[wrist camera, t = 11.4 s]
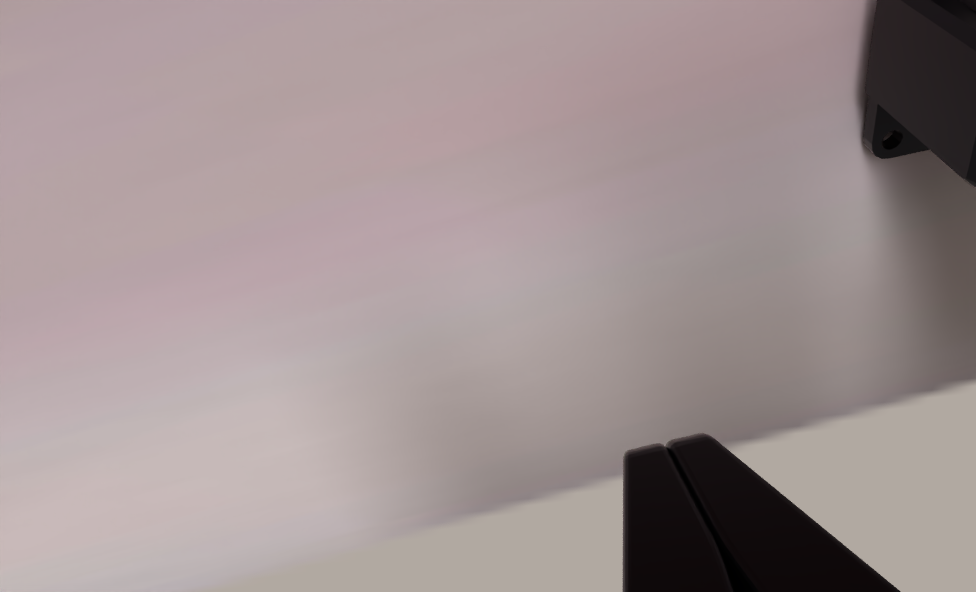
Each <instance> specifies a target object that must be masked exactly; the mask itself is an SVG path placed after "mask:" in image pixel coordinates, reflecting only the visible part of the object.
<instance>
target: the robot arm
mask: <svg viewBox="0 0 976 592" xmlns="http://www.w3.org/2000/svg"><path fill="white" fill-rule="evenodd" d="M865 91H866V93H867V95H869V99H868V106H867V113H866V120H865V128H864V135H863V139H864V144H865V145H866V147H867V148H868V149H869V150H870V151H871V152H872V153H873V154H874V155H875V156H877V157H879V158H881V159H886V158H893V157H898V156H902V155H907V154H911V153H916V152H920V151H925V150H929V149H930V150H931V151H932V152H933V153H934V154H936V155H937V156H938V157H939V158H940V159H941V160H942V161H943V162H945V163H946V164H947V165H948V166H949V167H950V168H951V169H953V170H954V171H955V172H956V173H957V174H958V175H959V176H961V177H962V178H963V179H964V180H965V181H966V182H968V183H969V184H970V185H972V186H974V187H976V0H877V5H876V12H875V20H874V27H873V35H872V42H871V50H870V57H869V65H868V72H867V80H866V87H865ZM893 130H894V131H893ZM891 131H893V133H892V135H891V136H890V137H889V138H888V139H886V140H884V141H882V140H883V138H884V136H885V135H886V134H887V133H889V132H891ZM623 592H900V591H899V590H898V589H897V588H896V587H894V586H893V585H892V584H891V583H889V582H888V581H887V580H886V579H884V578H883V577H882V576H881V575H880V574H878V573H877V572H876V571H875V570H874V569H872V568H871V567H870V566H869V565H868V564H866V563H865V562H864V561H863V560H861V559H860V558H859V557H858V556H857V555H855V554H854V553H853V552H852V551H850V550H849V549H848V548H847V547H846V546H844V545H843V544H842V543H841V542H840V541H838V540H837V539H836V538H835V537H833V536H832V535H831V534H830V533H828V532H827V531H826V530H825V529H824V528H822V527H821V526H820V525H819V524H818V523H816V522H815V521H814V520H813V519H811V518H810V517H809V516H808V515H807V514H805V513H804V512H803V511H802V510H801V509H799V508H798V507H797V506H796V505H794V504H793V503H792V502H791V501H790V500H788V499H787V498H786V497H785V496H783V495H782V494H781V493H780V492H779V491H777V490H776V489H775V488H774V487H772V486H771V485H770V484H769V483H768V482H766V481H765V480H764V479H763V478H761V477H760V476H759V475H758V474H757V473H755V472H754V471H753V470H752V469H751V468H749V467H748V466H747V465H746V464H744V463H743V462H742V461H741V460H740V459H738V458H737V457H736V456H735V455H734V454H732V453H731V452H730V451H729V450H727V449H726V448H725V447H724V446H723V445H721V444H720V443H719V442H718V441H716V440H715V439H714V438H713V437H711V436H709V435H707V434H703V433H701V434H695V435H691V436H686V437H682V438H678V439H674V440H671V441H669V442H668V443H667V444H666V447H665V446H664V445H662V444H653V445H648V446H644V447H640V448H636V449H631V450H628V451H627V452H626V453H625V454H624V459H623Z"/></svg>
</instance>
